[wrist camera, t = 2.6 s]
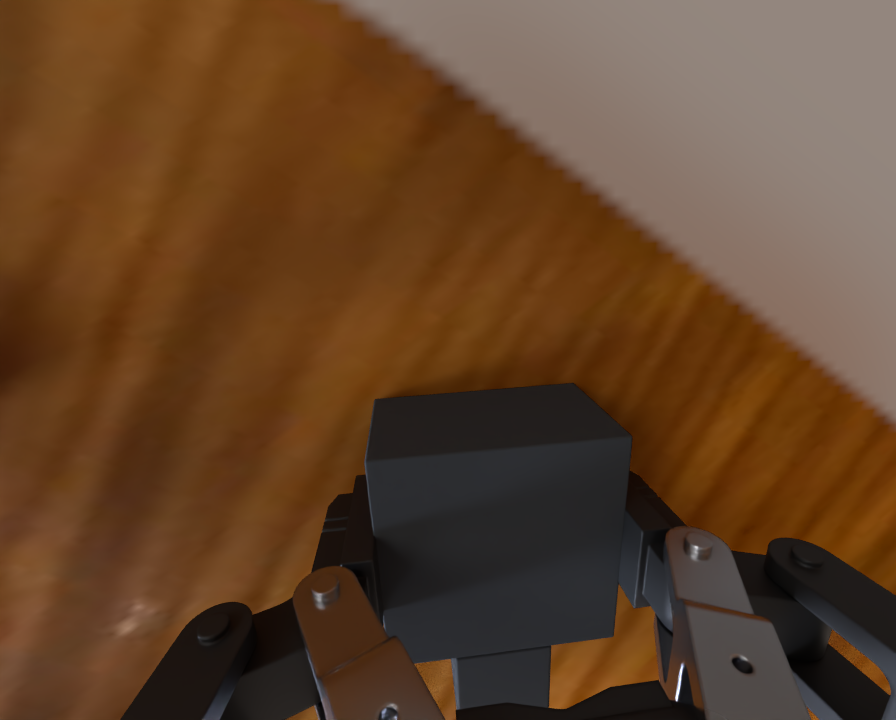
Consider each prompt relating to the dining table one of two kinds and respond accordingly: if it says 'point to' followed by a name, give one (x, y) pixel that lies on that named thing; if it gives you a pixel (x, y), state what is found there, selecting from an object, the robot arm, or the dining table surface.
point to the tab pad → (497, 530)
